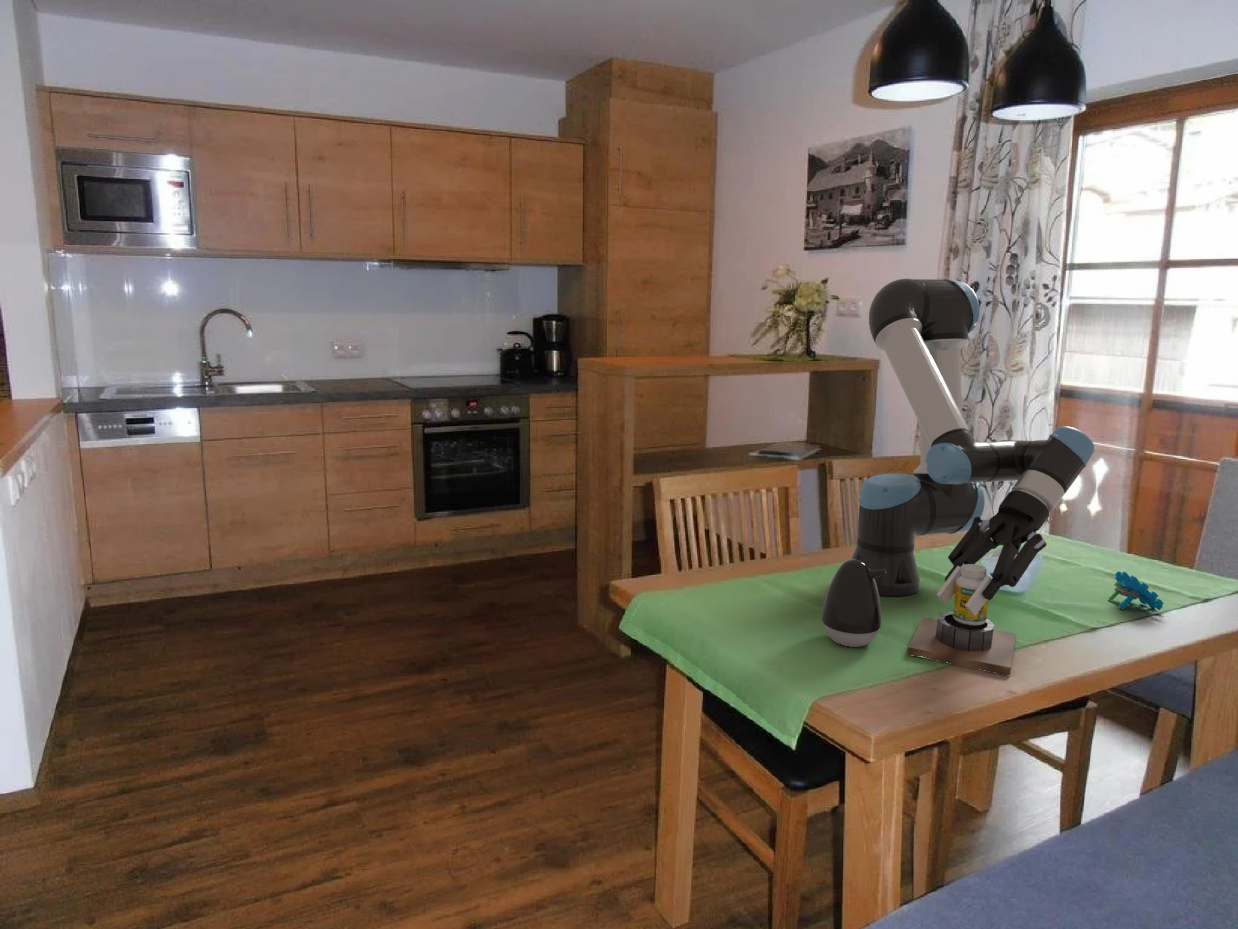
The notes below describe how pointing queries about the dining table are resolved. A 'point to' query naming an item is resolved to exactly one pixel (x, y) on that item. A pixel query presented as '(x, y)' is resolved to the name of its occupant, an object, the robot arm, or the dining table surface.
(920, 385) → the robot arm
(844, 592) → the pump dispenser
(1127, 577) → the gear
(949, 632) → the collar
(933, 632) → the board
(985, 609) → the supplement bottle
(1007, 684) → the dining table surface
